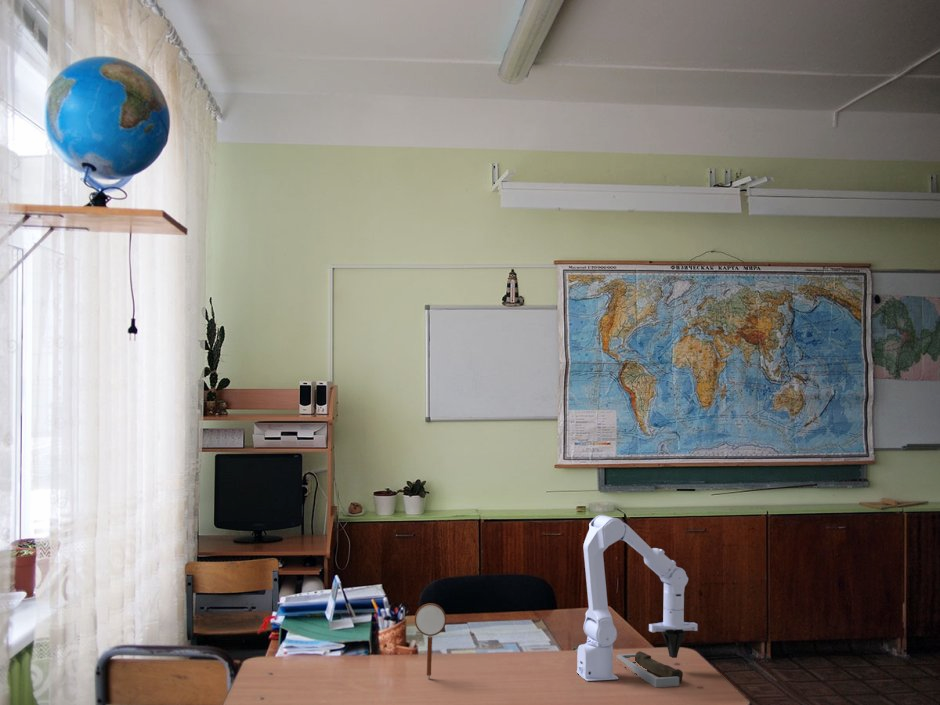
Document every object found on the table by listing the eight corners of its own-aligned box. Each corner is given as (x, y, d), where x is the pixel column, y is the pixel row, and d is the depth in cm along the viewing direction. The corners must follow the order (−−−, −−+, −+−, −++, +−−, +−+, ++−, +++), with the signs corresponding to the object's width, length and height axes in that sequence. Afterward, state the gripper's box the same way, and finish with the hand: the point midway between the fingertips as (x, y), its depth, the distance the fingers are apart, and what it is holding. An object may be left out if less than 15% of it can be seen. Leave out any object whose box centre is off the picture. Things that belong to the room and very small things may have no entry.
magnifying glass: (444, 678, 224) (446, 603, 226) (444, 680, 223) (446, 604, 225) (413, 677, 225) (415, 602, 226) (412, 679, 223) (414, 603, 225)
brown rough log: (683, 684, 226) (683, 666, 226) (671, 685, 224) (671, 667, 225) (643, 665, 243) (643, 649, 243) (631, 666, 241) (631, 650, 242)
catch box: (655, 687, 221) (655, 678, 221) (616, 662, 244) (616, 654, 244) (679, 685, 223) (679, 677, 223) (637, 661, 246) (638, 653, 246)
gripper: (688, 604, 243) (688, 652, 242) (644, 606, 239) (643, 654, 238) (701, 610, 237) (701, 658, 235) (656, 611, 233) (655, 660, 231)
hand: (673, 656), depth 236 cm, fingers closed
